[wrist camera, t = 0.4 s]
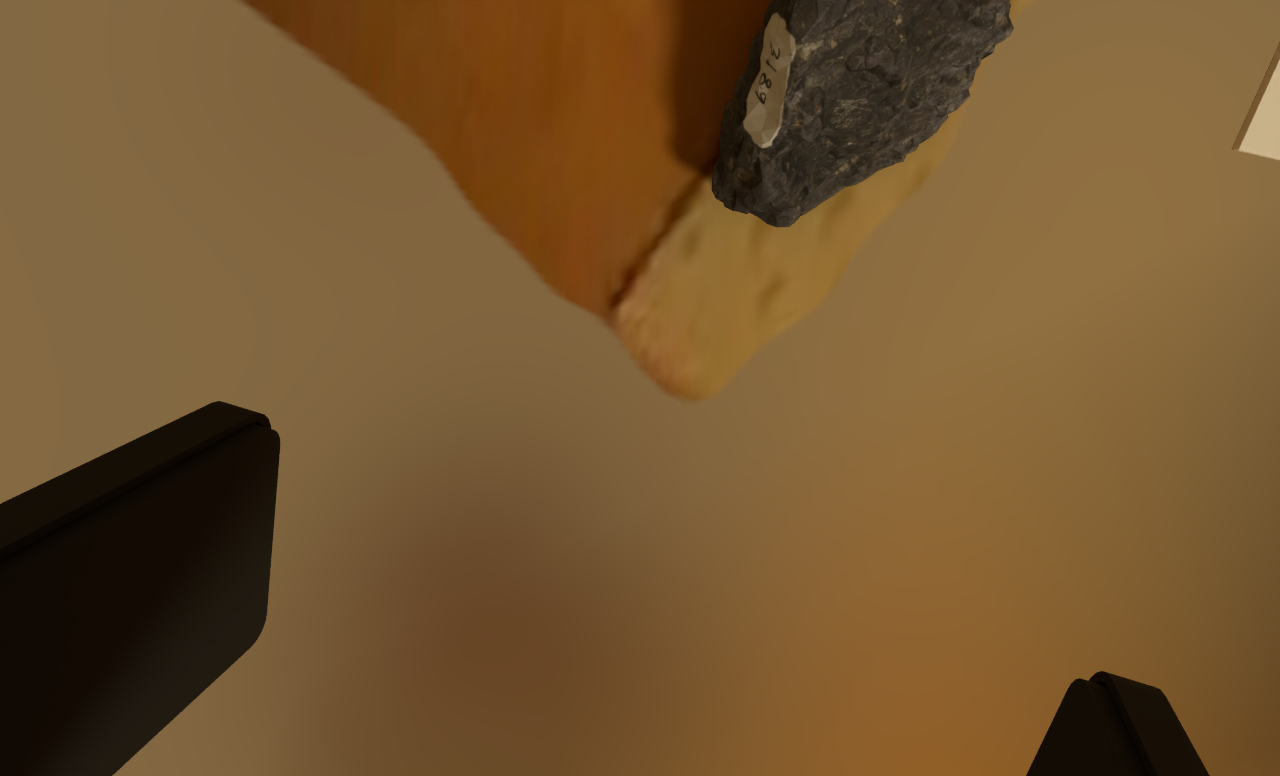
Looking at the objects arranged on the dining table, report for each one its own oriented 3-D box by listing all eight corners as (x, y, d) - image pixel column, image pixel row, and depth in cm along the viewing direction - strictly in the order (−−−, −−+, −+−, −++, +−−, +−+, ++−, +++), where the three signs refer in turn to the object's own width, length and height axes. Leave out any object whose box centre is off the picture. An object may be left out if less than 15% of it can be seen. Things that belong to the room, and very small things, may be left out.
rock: (905, -248, 26) (935, 42, 24) (1056, -111, 31) (1094, 141, 28) (660, -21, 35) (662, 205, 33) (806, 57, 40) (818, 259, 38)
